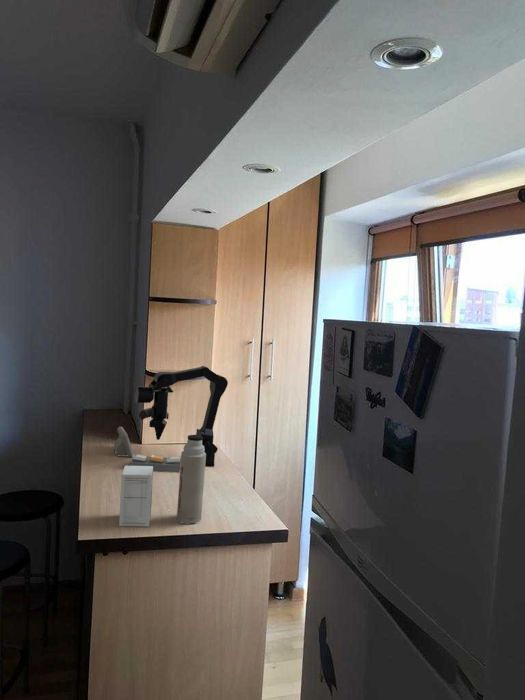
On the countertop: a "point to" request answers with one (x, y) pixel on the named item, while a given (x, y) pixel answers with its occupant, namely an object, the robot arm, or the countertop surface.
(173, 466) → the power strip
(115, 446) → the grey tapered fin
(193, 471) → the thermos bottle
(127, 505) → the supplement box
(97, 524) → the countertop surface
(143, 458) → the rocker
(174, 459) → the rocker
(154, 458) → the block
